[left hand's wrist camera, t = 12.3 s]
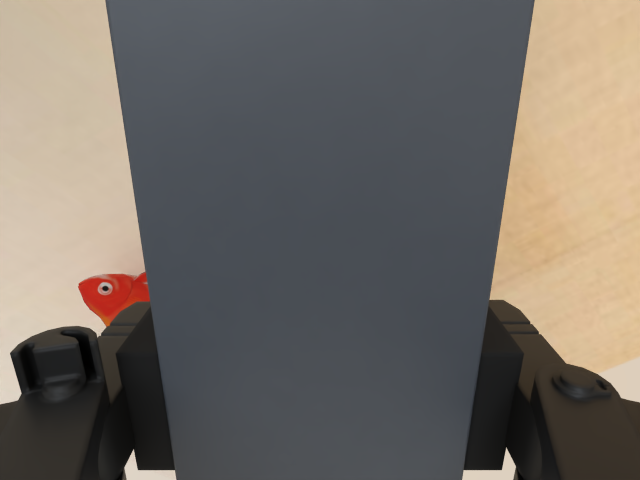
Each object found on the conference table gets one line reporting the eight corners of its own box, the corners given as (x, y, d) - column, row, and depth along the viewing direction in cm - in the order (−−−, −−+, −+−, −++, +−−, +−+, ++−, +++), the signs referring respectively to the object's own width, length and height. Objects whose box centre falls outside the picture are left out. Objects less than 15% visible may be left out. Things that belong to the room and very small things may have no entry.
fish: (184, 217, 33) (130, 338, 27) (281, 319, 43) (258, 422, 37) (86, 239, 37) (19, 348, 31) (195, 327, 48) (162, 421, 41)
